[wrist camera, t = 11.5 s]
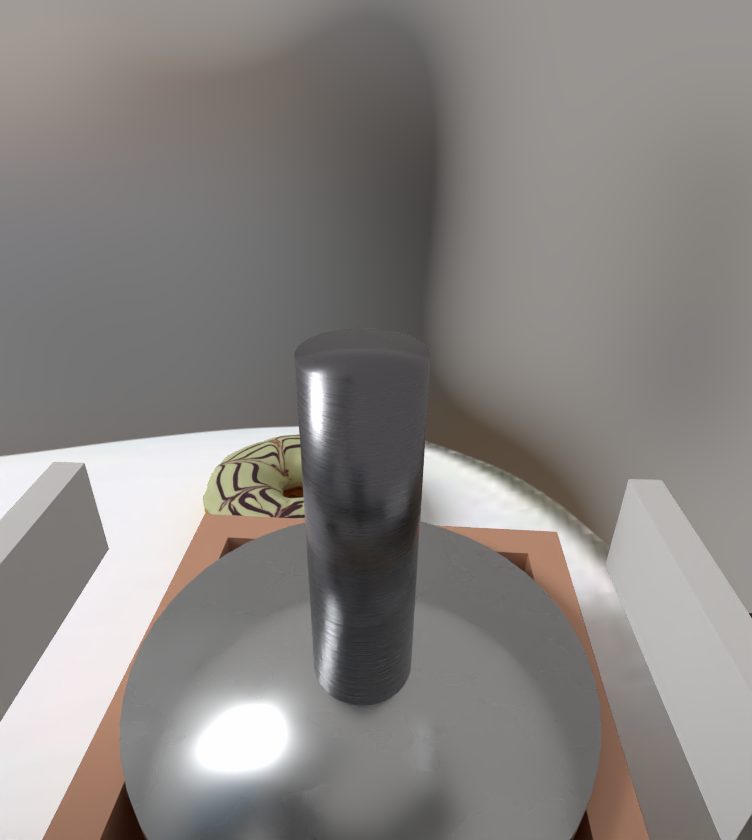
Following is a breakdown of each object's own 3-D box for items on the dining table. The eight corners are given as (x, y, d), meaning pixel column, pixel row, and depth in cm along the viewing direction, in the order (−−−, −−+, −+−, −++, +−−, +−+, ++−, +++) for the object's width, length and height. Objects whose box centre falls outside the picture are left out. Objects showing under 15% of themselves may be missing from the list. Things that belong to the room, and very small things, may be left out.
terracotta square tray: (46, 1044, 16) (-19, 961, 13) (219, 599, 30) (205, 513, 27) (644, 1104, 15) (706, 1028, 13) (538, 618, 29) (556, 531, 26)
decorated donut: (249, 619, 29) (241, 562, 27) (189, 502, 37) (179, 452, 35) (423, 545, 34) (426, 492, 32) (336, 456, 42) (334, 409, 40)
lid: (14, 935, 14) (-245, 554, 8) (212, 521, 27) (170, 260, 21) (673, 996, 13) (929, 623, 7) (547, 539, 26) (601, 273, 20)
